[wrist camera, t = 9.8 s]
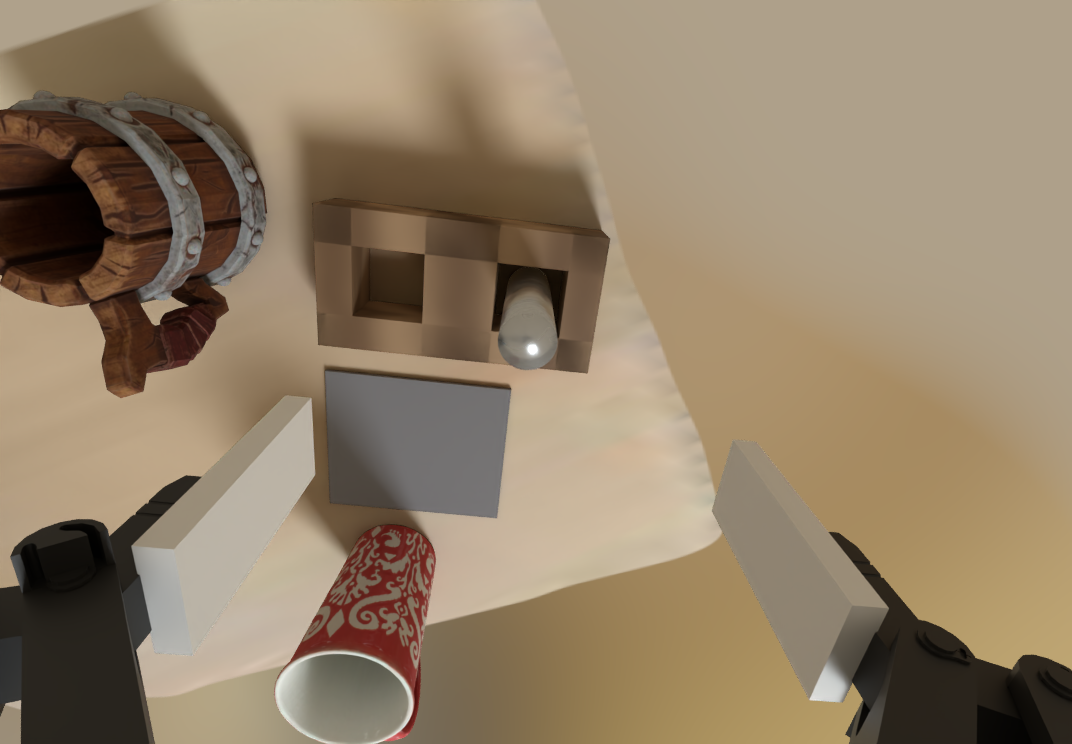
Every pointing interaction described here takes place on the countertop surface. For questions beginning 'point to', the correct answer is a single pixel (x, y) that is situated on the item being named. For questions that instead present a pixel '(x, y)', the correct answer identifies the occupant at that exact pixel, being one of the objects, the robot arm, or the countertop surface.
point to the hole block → (449, 280)
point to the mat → (415, 443)
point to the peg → (527, 321)
